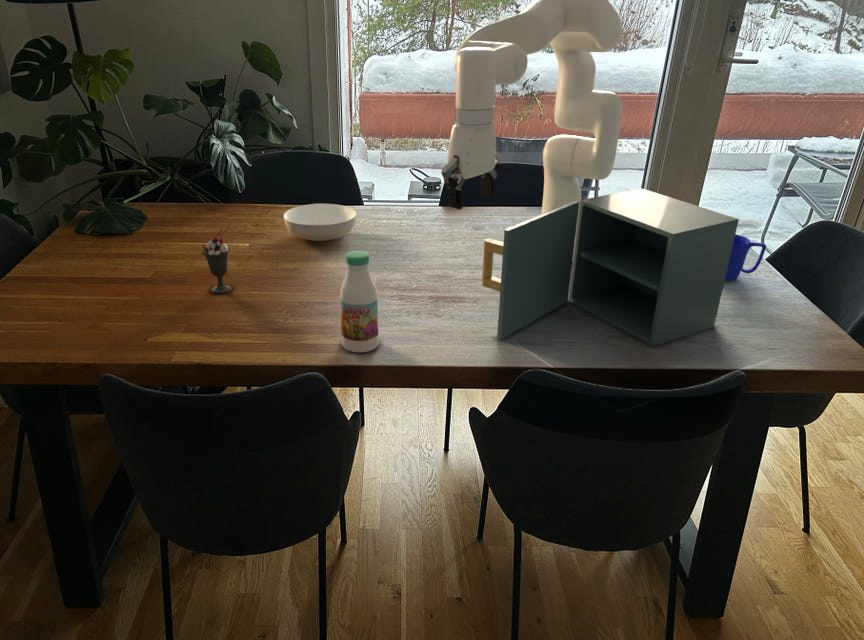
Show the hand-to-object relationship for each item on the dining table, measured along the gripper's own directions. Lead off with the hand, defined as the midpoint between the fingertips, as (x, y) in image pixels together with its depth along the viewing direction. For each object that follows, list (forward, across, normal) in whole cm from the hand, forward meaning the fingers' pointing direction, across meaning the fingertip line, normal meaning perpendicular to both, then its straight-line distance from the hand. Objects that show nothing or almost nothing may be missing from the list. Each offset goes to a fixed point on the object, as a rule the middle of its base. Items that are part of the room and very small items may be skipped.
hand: (471, 202), depth 148 cm
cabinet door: (+26, -9, +8) cm, 29 cm away
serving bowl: (+27, -10, -66) cm, 72 cm away
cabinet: (+27, -28, +26) cm, 47 cm away
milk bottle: (+26, +26, -6) cm, 38 cm away
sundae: (+26, +32, -52) cm, 66 cm away
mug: (+27, -63, +31) cm, 75 cm away
